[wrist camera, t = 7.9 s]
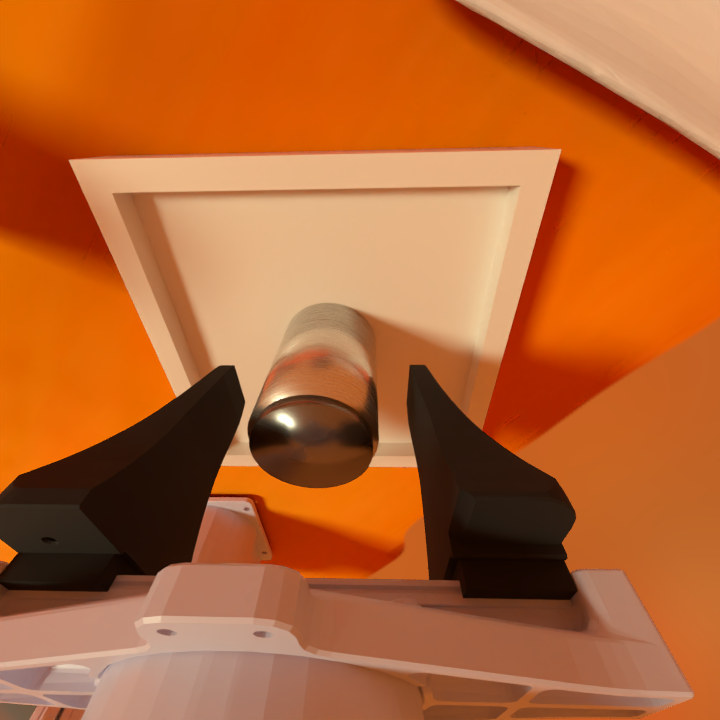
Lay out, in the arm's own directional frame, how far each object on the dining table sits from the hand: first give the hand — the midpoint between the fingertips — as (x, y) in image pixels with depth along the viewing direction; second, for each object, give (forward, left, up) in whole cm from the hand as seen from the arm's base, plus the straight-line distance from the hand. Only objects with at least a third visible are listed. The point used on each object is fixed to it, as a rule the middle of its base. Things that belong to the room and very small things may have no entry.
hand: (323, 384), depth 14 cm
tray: (0, 0, -4) cm, 4 cm away
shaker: (0, 0, -3) cm, 3 cm away
